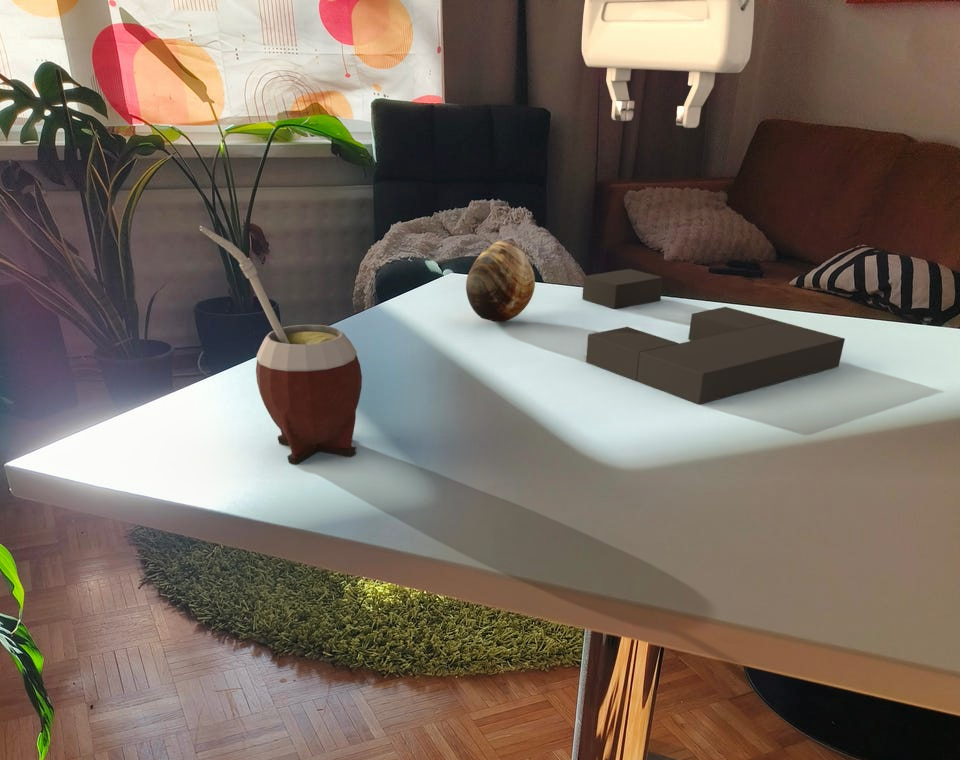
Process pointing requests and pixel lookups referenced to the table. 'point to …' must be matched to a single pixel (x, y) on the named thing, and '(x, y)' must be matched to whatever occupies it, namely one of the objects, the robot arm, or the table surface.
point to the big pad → (716, 354)
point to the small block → (622, 288)
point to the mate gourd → (305, 378)
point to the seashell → (500, 282)
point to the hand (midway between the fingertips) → (653, 123)
